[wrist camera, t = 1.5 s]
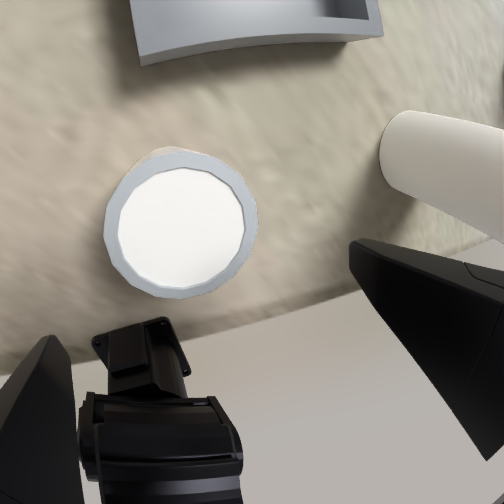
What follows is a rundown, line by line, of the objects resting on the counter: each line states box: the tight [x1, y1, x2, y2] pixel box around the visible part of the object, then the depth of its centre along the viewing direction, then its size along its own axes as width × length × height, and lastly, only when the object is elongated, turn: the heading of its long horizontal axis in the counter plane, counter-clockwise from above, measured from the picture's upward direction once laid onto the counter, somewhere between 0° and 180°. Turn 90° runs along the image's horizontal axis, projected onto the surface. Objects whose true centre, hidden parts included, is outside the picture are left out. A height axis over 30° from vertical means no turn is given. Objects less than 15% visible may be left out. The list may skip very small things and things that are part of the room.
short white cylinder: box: [103, 146, 258, 299], centre depth 16 cm, size 7×7×7 cm
